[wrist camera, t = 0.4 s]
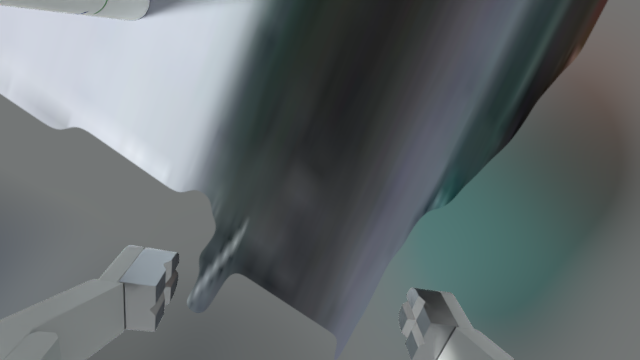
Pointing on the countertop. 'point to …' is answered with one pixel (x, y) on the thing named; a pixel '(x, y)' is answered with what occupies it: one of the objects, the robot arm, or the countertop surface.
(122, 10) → the cylindrical container
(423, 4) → the countertop surface
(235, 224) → the countertop surface
